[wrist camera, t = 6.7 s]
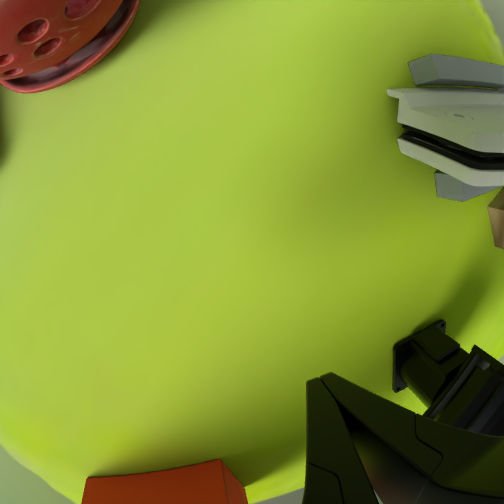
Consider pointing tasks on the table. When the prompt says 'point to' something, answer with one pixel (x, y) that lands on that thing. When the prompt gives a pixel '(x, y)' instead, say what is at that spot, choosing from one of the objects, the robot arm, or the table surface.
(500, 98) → the hinge
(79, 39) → the plant pot
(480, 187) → the channel jig
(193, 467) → the file binder
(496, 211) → the spacer block
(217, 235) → the table surface
